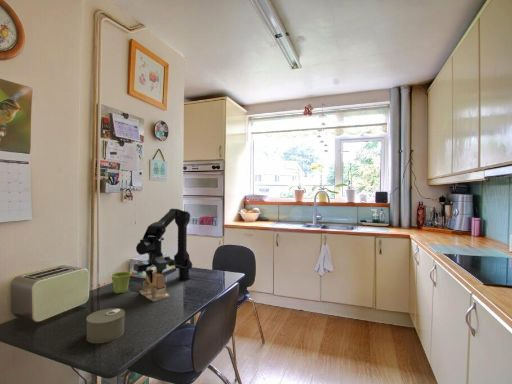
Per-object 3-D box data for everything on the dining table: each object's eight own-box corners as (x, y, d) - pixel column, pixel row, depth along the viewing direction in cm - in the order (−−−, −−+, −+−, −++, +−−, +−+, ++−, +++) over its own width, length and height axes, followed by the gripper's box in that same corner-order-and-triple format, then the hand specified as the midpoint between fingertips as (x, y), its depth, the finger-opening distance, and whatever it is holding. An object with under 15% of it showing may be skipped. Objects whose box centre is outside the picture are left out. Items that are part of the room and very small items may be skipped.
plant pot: (105, 293, 134) (106, 275, 134) (121, 287, 143) (122, 270, 143) (119, 296, 131) (120, 278, 131) (135, 289, 140) (135, 273, 140)
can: (77, 339, 92) (77, 319, 92) (107, 323, 103) (108, 305, 103) (103, 347, 88) (104, 325, 88) (132, 329, 99) (132, 311, 99)
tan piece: (139, 292, 135) (139, 281, 135) (155, 289, 141) (155, 278, 141) (153, 301, 125) (153, 289, 125) (169, 297, 131) (169, 285, 131)
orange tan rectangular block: (145, 281, 137) (146, 270, 137) (151, 280, 139) (151, 269, 139) (157, 288, 127) (158, 276, 128) (163, 286, 130) (164, 275, 130)
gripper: (143, 256, 121) (142, 291, 121) (180, 250, 134) (180, 281, 134) (133, 252, 129) (132, 285, 129) (169, 247, 142) (169, 276, 142)
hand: (154, 282), depth 133 cm, fingers closed on orange tan rectangular block, 3 cm apart
